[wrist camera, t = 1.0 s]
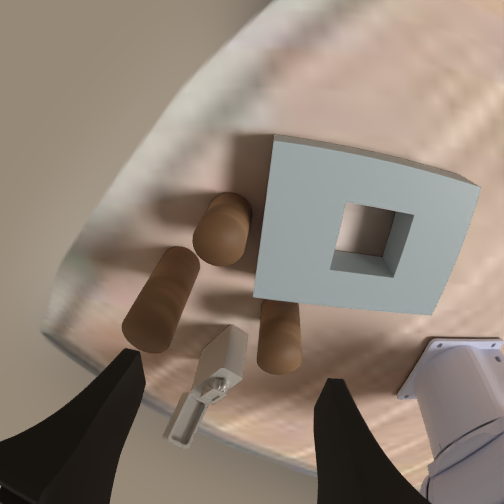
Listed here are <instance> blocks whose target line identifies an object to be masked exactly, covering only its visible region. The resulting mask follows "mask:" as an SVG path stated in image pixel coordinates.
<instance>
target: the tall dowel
mask: <svg viewBox="0 0 504 504" xmlns="http://www.w3.org/2000/svg"><path fill="white" fill-rule="evenodd" d="M199 270H200V262H199V259H198V258H197V256H196V255H195V254H194V253H193V252H192V251H191V250H189V249H187V248H185V247H172V248H170V249H169V250H167V251H166V252H165V254H164V255H163V257H162V258H161V260H160V262H159V263H158V265H157V266H156V268H155V270H154V271H153V273H152V274H151V276H150V278H149V279H148V281H147V282H146V284H145V286H144V287H143V289H142V291H141V292H140V294H139V295H138V297H137V299H136V300H135V302H134V304H133V305H132V307H131V309H130V310H129V312H128V314H127V316H126V317H125V319H124V321H123V323H122V331H123V334H124V336H125V338H126V339H127V340H128V341H129V342H130V343H131V344H132V345H133V346H134V347H136V348H138V349H139V350H142V351H144V352H148V353H161V352H163V351H165V350H166V349H168V347H169V345H170V343H171V340H172V338H173V335H174V332H175V330H176V327H177V325H178V322H179V320H180V317H181V315H182V312H183V310H184V307H185V305H186V302H187V300H188V297H189V295H190V292H191V290H192V287H193V285H194V282H195V280H196V278H197V275H198V273H199Z"/></svg>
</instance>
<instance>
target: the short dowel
mask: <svg viewBox="0 0 504 504" xmlns="http://www.w3.org/2000/svg"><path fill="white" fill-rule="evenodd" d="M251 217H252V210H251V207H250V204H249V203H248V201H247V200H246V199H245V198H244V197H242V196H241V195H239V194H236V193H230V192H228V193H223V194H220V195H218V196H217V197H215V198H214V199H213V200H212V202H211V204H210V205H209V207H208V209H207V210H206V212H205V214H204V216H203V217H202V219H201V221H200V223H199V224H198V226H197V228H196V229H195V231H194V234H193V247H194V249H195V252H196V253H197V255H198V256H199V257H200V258H201V259H202V260H203V261H205V262H207V263H209V264H211V265H214V266H228V265H231V264H233V263H235V262H236V261H238V260H239V259H240V258H241V256H242V255H243V253H244V250H245V246H246V241H247V236H248V231H249V227H250V222H251Z"/></svg>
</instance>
